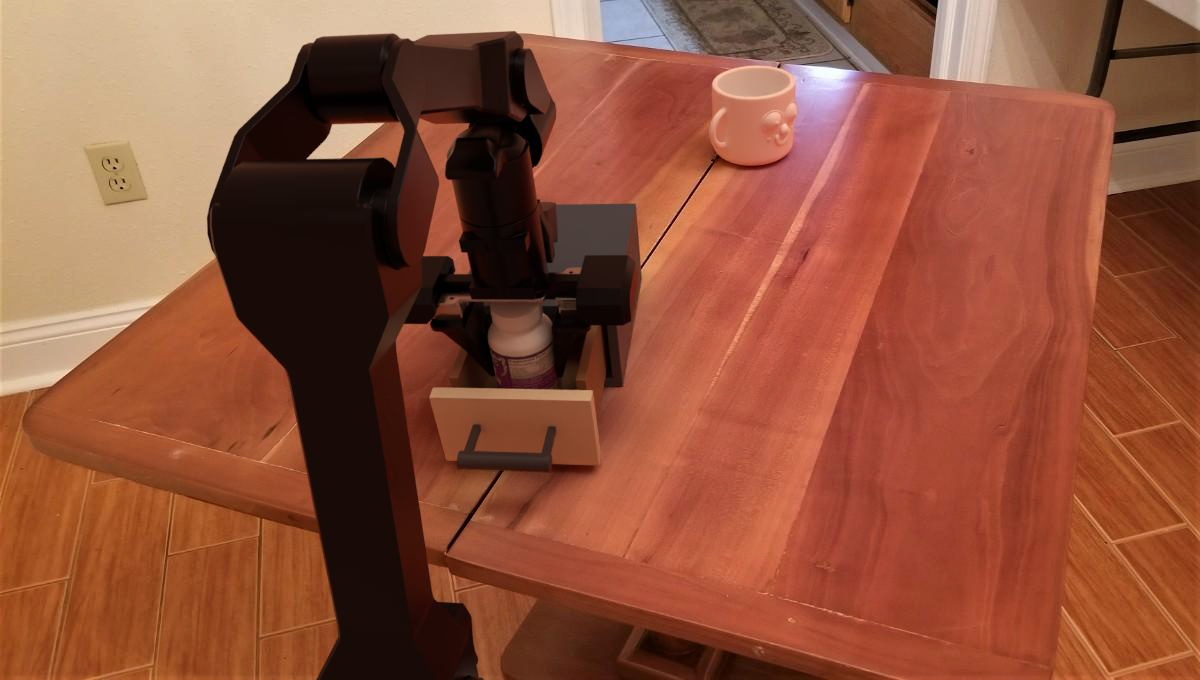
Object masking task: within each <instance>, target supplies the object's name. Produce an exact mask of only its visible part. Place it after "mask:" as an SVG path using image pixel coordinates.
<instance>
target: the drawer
mask: <svg viewBox="0 0 1200 680" xmlns="http://www.w3.org/2000/svg"><path fill="white" fill-rule="evenodd" d="M485 315H486V319H487V322H488V326H489V328H490V326H491V324H492V323H493V322H492V316H491V314H485ZM545 315H546V316H547V317H548V318H549V319H550V320H551V322H552V324H553V320H554V317H555V314H545ZM609 357H610V353H609V344H608V335H607V326H606V325H592V327H591V329H590V331H588V332H586V333H578V334H577V335H576V337H575V339H574V341H573V343H572V345H571V347H570V349H569V354H568V358H567V362H566V367H565V371H564V375H563V377H562V378H561V379H562V385H563V390H549V389H498V385H497V380H496V376H490V375H489V374H488V373H487V372H486V371H485V370H484V369H483V368H482V367H481V366H480V365H479V364H478V363H477V362H476V361H475V360H474V359H473V358H472V357H471V356H470V355H469V354H468V353H467V352H466V351H465V350H464V349H463V348H462V347H460V348H459V351H458V353H457V355H456V358H455V360H454V363H453V364H452V365H453V366H452V368H451V371H450V373H449V376H448V381H449V382H448V383H449V386H450V387H442V386H440V387H439V386H437V387H436V386H435V387H432V389H431V392H430V394H429V397H428V399H429V403H430V406H431V410H432V413H433V416H434V420H435V424H436V428H437V431H438V435H439V438H440V443H441V446H442V448H443V452H444V457H445V460H446V461H449V462H456V466H457V469H458V470H466V471H467V470H468V471H469V470H471V471H472V470H473V471H502V472H529V473H551V471H552V469H553V465H571V466H572V465H573V466H574V465H575V466H600V463H601V457H602V451H601V443H600V437H599V436H600V435H599V434H600V433H599V429H598V428H599V427H598V418H599V413H600V407H601V402H602V397H603V392H604V387H605V386H604V382H605V377H606V372H607V367H608V362H609Z"/></svg>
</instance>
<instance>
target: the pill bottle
mask: <svg viewBox="0 0 1200 680" xmlns="http://www.w3.org/2000/svg"><path fill="white" fill-rule="evenodd" d="M490 310H491V316H492V322H493V323H492V324H491V326H490V328H489V330H488V344H489V348H490V352H491V357H492V362H493V366H494V371H495V376H496V380H497V385H498V389H549V390H563V385H562V379H561V378H559V377H558V376H557V373H556V370H555V364H554V353H553V343H552V332H551V327H552V322H551V320H550V319H549V318H548V317H547V316H546V315H545V314H544V313H543V309H542V304H541V302H492V303H491V306H490Z"/></svg>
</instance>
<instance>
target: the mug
mask: <svg viewBox="0 0 1200 680" xmlns="http://www.w3.org/2000/svg"><path fill="white" fill-rule="evenodd" d="M798 110H799V109H798V107H797V103H796V78H795V77H794V75H793V74H792V73H791V72H789V71H787V70H785V69H782V68H780V67H775V66H769V65H747V66H745V65H744V66H739V67H734V68H731V69H728V70H724V71H723V72H721V73H719V74H718V75H717V76H715V77H714V79H713V80H712V83H711V116H712V117H711V122H710V125H709V128H708V138H709V139H708V140H709V141H710V144H711V146H713V149H714V151H715V153H716V154H717V155H718V156H719V158H721V159H723V160H725V161H726V162H729V163H731V164H736V165H740V166H763V165H768V164H772V163H775V162H777V161H779V160H781V159H783V158H784V157H786V156H787V155H788V153H790V151H791V150H792V148H793V144H794V132H795V119H796V118H797V117H798V112H799V111H798Z"/></svg>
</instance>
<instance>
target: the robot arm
mask: <svg viewBox="0 0 1200 680" xmlns="http://www.w3.org/2000/svg"><path fill="white" fill-rule="evenodd" d="M524 45H525V42H524V39H523V37H522V36H521V35H520V34H519V33H518V32H517V31H516V30H510V31H509V30H507V31H505V30H504V31H485V32H482V31H481V32H461V33H442V34H439V33H438V34H426V35H425V36H422V37H420V38H418V39H416V40H411V39H410V38H409V37H408V38H405V37H404V38H401V37H400V36H399V35H398V34H396V33H393V32H390V33H371V34H370V33H369V34H347V35H323V36H320V37H316V39H314V41H313V42H308V43H305V44H303V45H301V48H300V49H299V52H298V53H297V54H296V55H297V56H296V58H295V61H294V65H293V67H292V71H291V72H290V75H289V79H288V81H287V82H286V83H285V84H284V86H282V87H281V88H280V89H279V90H278V91H277V92H276V93H275V94H274V95H273V96H271V98H270V99H269V100H268V101H267V102H266V103H265V104H264V105H262V106H261V107H260V108H259V109H258V110H257V111H256V112H255V113H254V114H253V115H252V116H251V117H250V118H249V119H248V120H247V121H246V122H245V123H244V124H243V125H242V126H241V127H239V128H238V130H237V131H236V133H235V134H234V136H233V138H232V141H231V144H230V147H229V148H228V152H227V155H226V157H225V160H224V163H223V166H222V169H221V171H220V174H219V177H218V180H217V182H216V185H215V188H214V189H213V190H214V191H213V193H212V196H211V198H210V201H209V205H208V211H207V215H206V229H207V230H206V231H207V239H208V242H209V245H210V250H211V251H212V253H213V255H214V256H215V260H216V263H217V265H218V269H219V271H220V274H221V277H222V280H223V283H224V286H225V289H226V292H227V295H228V298H229V301H230V304H231V308H232V311H233V313H234V315H235V317H236V319H237V320H238V321H239V322H240V324H241V325H242V326H243V327H244V328H245V329H246V330H247V331H248V332H249V333H250V334H251V335H252V337H254V338H255V339H256V340H257V342H258V343H259V344H260V345H261V346H262V347H263V348H264V349H265V350H266V351H267V352H268V353H269V354H270V355H271V356H272V357H273V359H275V361H276V362H277V363H278V364H279V365H280V366H281V367H282V368H283V369H284V370H285V373H286V377H287V381H288V386H289V391H290V396H291V400H292V401H291V402H292V406H293V410H294V415H295V421H296V426H297V431H298V437H299V442H300V446H301V451H302V456H303V461H304V466H305V471H306V477H307V481H308V486H309V492H310V496H311V501H312V508H313V511H314V516H315V517H314V518H315V522H316V526H317V532H318V536H319V542H320V546H321V551H322V556H323V562H324V567H325V571H326V577H327V581H328V587H329V591H330V596H331V601H332V602H331V603H332V607H333V612H334V617H335V621H336V627H337V628H336V629H337V638H336V640H335V642H334V643H333V646H332V648H331V649H330V652H329V654H328V656H327V657H326V660H325V661H324V664H323V666H322V668H321V670H320V672H319V673H318V675H317V677H316V680H485V678H484V677H481V676H480V677H479V670H478V666H477V665H478V663H479V657H478V654H477V653H476V652H477V651H476V648H475V644H474V633H473V618H472V614H471V613H470V611H469V610H468V607H466V605H465V603H463V602H452V601H451V602H450V601H438V600H436V599H435V596H434V593H433V589H432V581H431V574H430V569H429V562H428V555H427V549H426V541H425V534H424V528H423V522H422V521H423V520H422V514H421V508H420V507H421V506H420V501H419V493H418V486H417V479H416V473H415V467H414V460H413V454H412V453H413V452H412V446H411V440H410V433H409V427H408V419H407V414H406V407H405V399H404V394H403V387H402V386H403V385H402V380H401V372H400V367H399V360H398V359H399V358H398V351H397V339H398V337H399V335H400V332H401V331H402V328H403V327H404V325H428V324H429V326H430V329H431V330H432V332H435V333H442V334H444V335H445V336H446V337H448V338H449V339H450V340H452V341H453V343H455V344H456V345H458V346H459V347H460V348H461V347H462V348H463V349H464V350H465V351H466V352H467V353H468V354H469V355H470V356H471V357H472V358H473V359H474V360H475V361H476V362H477V363H478V364H479V365H480V366H481V367H482V368H483V369H484V370H485V371H486V372H487V373H488V374H489V375H490V376H495V371H494V366H493V362H492V357H491V352H490V348H489V344H488V330H489V326H488V322H487V319H486V315H485V311H484V302H543V301H545V299H552V300H555V301H556V306H558V307H557V310H556V313H555V317H554V320H553V324H552V327H551V332H552V343H553V353H554V364H555V370H556V373H557V376H558V377H559V378H562V377H563V375H564V371H565V367H566V362H567V358H568V354H569V349H570V347H571V345H572V343H573V341H574V339H575V337H576V335H577V334H578V333H586V332H588V331H590V329H591V327H592V325H611V326H623V325H625V324H627V323H629V322H631V320H632V315H633V309H634V304H635V298H636V292H637V287H638V272H637V264H636V263H635V262H634V261H633V260H632V259H631V258H630V256H629V255H585V257H584V261H583V265H582V267H572V268H567V269H565V270H563V271H562V272H548V268H547V263H553V260H554V257H555V249H554V242H557V241H558V231H557V213H556V205H557V203H556V202H554V201H541V199H539V198H538V196H537V190H536V184H535V178H534V177H535V176H534V170H533V169H534V168H535V167H537V166H539V163H540V161H541V159H542V156H543V154H544V152H545V149H546V146H547V144H548V141H549V140H550V137H551V134H552V131H553V129H554V126H555V123H556V121H557V105H556V102H555V101H554V99H553V97H552V96H551V94H550V92H549V89H548V86H547V84H546V82H545V80H544V77H543V74H542V71H541V69H540V67H539V65H538V61H537V60H536V57H535V55H534V52H533V50H532V49H531V48H524ZM420 120H423V121H425V122H428V123H431V124H433V125H456V124H457V125H459V124H460V125H461V124H468V128H466V129H464V130H462V131H461V132H460V133H459V134H458V135H457V136H456V137H455V138H454V139H453V140H452V141H451V144H450V146H449V147H448V149H447V151H446V159H447V160H446V162H445V168H444V177H445V179H446V180H447V181H451V182H452V183H451V184H452V189H453V192H454V197H455V203H456V207H457V211H458V217H459V221H460V226H461V231H462V233H461V234H460V237H459V239H458V243H459V248H460V252H461V254H462V253H464V254H465V253H466V254H467V260H468V263H469V270H470V269H471V274H468V273H455V272H456V266H455V261H454V259H453V258H452V257H450V256H449V255H425V252H426V247H427V243H428V238H429V234H430V230H431V225H432V220H433V215H434V211H435V206H436V201H437V197H438V192H439V188H440V178H439V175H438V173H437V170H436V168H435V166H434V164H433V162H432V160H431V157H430V155H429V153H428V151H427V148H426V146H425V144H424V142H423V140H422V137H421V135H420V133H419V129H418V126H419V123H420ZM393 123H397V124H398V123H399V124H400V126H401V128H402V130H403V135H402V139H401V143H400V147H399V152H398V154H397V155H398V156H397V160H396V164H395V165H394V164H393V162H391V161H390V160H388V159H387V158H385V156H383V157H382V156H381V157H341V158H339V157H337V158H309V157H310V156H311V155H312V154H313V153H314V152H315V151H316V150H318V148H319V147H320V146H321V145H322V144H323V143H324V142H325V141H326V140H327V138H328V137H329V135H330V134H331V130H332V127H333V125H361V124H362V125H363V124H393Z"/></svg>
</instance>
